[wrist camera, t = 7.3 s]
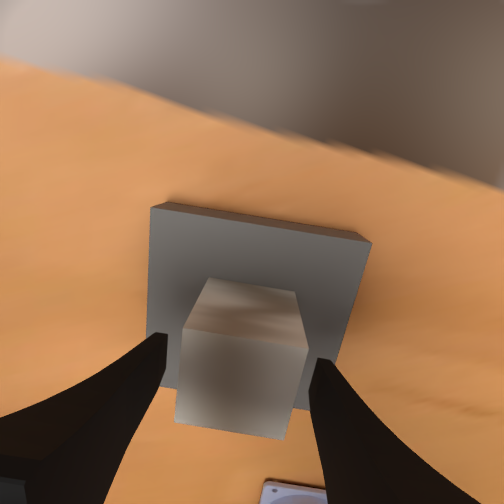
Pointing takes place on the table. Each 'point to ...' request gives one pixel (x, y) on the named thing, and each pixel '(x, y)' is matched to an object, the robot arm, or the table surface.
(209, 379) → the gray block
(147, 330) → the charcoal block
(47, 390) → the table surface
